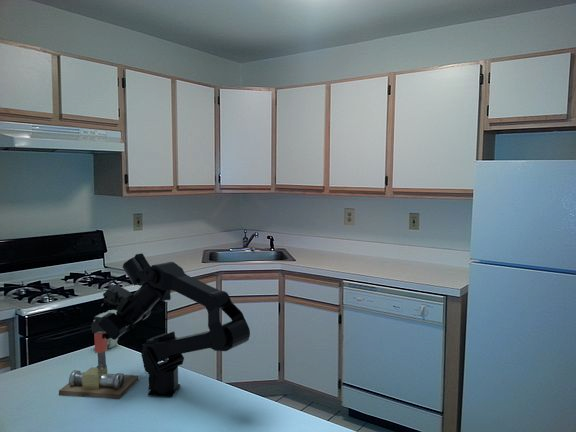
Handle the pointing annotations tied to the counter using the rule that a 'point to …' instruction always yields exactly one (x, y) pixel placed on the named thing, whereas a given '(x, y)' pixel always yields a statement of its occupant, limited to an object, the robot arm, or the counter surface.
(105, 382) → the valve body
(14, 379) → the counter surface
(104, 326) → the robot arm
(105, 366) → the lever
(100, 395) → the mounting board
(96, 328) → the pneumatic valve
